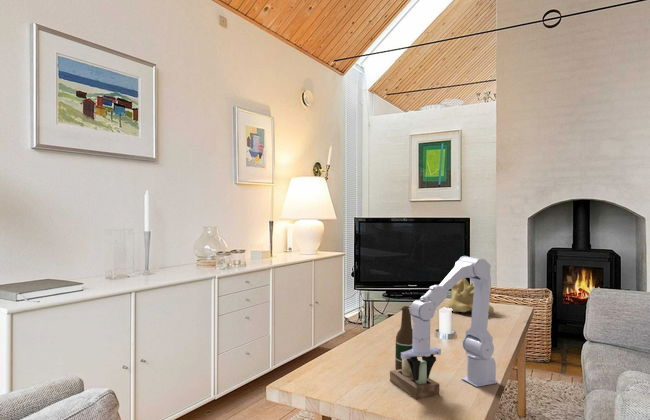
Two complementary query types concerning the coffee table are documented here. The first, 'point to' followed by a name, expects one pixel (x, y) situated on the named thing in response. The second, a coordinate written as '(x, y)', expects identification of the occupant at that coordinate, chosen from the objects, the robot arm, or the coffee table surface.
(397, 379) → the socket board
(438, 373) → the coffee table surface
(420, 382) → the green peg
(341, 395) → the coffee table surface
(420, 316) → the robot arm
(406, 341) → the beer bottle
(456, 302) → the decorative coral
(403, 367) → the birch peg
